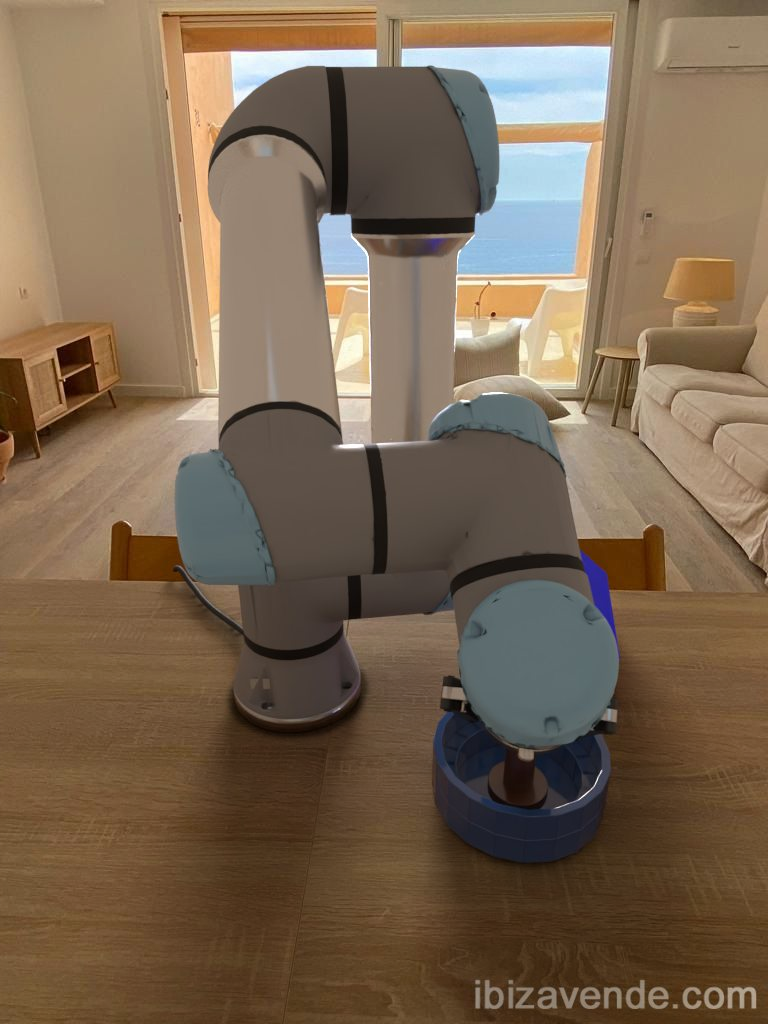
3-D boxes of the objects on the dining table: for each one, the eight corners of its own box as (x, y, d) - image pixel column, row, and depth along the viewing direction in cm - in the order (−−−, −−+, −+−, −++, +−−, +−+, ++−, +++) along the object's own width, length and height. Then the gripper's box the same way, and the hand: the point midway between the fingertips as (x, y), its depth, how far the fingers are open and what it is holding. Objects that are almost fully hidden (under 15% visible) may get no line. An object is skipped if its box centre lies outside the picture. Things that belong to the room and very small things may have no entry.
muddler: (477, 778, 68) (485, 651, 61) (526, 762, 69) (539, 637, 63) (506, 822, 63) (518, 689, 57) (558, 804, 65) (576, 673, 58)
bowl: (406, 761, 74) (407, 713, 71) (540, 720, 79) (545, 674, 76) (482, 894, 60) (486, 841, 57) (638, 834, 65) (649, 783, 62)
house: (509, 692, 84) (516, 610, 79) (515, 604, 101) (521, 533, 97) (612, 705, 81) (626, 622, 77) (600, 613, 99) (611, 540, 94)
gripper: (404, 733, 46) (437, 748, 68) (655, 773, 43) (606, 775, 65) (419, 623, 49) (446, 671, 70) (657, 652, 45) (609, 693, 67)
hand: (523, 721), depth 67 cm, fingers closed on muddler, 3 cm apart
